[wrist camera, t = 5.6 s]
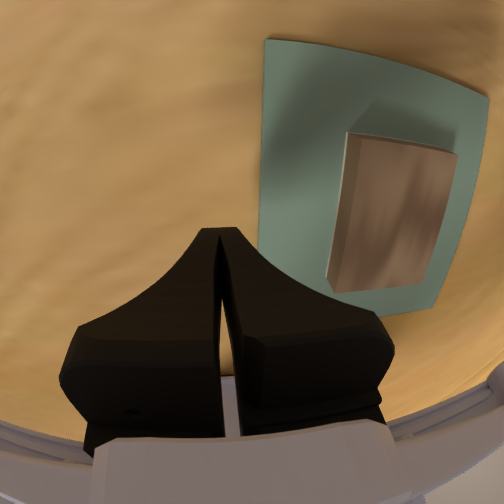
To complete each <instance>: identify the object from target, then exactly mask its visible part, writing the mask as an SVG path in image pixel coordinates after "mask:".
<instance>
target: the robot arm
mask: <svg viewBox="0 0 504 504" xmlns="http://www.w3.org/2000/svg"><path fill="white" fill-rule="evenodd" d="M222 301H223V306H224V312H225V317H226V322H227V328H228V333H229V338H230V343H231V349H232V356H233V367H234V376H226V377H221V372H220V357H219V345H220V325H221V306H222ZM394 355H395V346H394V344H393V342H392V340H391V338H390V336H389V334H388V333H387V331H386V329H385V327H384V325H383V324H382V322H381V321H380V319H379V318H378V316H377V315H376V314H375V312H374V311H371V310H367V309H364V308H360V307H357V306H354V305H350V304H347V303H344V302H341V301H339V300H336V299H334V298H331V297H329V296H326V295H324V294H321V293H319V292H317V291H315V290H313V289H311V288H309V287H307V286H305V285H303V284H301V283H300V282H298V281H296V280H294V279H293V278H291V277H290V276H288V275H287V274H285V273H284V272H282V271H281V270H279V269H278V268H277V267H275V266H274V265H273V264H271V263H270V262H269V261H268V260H267V259H266V258H264V257H263V256H262V255H261V254H260V253H259V252H258V251H257V250H256V249H255V248H254V247H253V246H252V245H251V243H250V242H249V241H248V240H247V239H246V238H245V237H244V235H243V234H242V233H241V232H240V230H239V229H238V228H237V227H221V228H202V229H201V230H200V231H199V232H198V234H197V236H196V237H195V239H194V240H193V242H192V243H191V245H190V246H189V247H188V249H187V250H186V251H185V252H184V254H183V255H182V256H181V258H180V259H179V260H178V261H177V262H176V263H175V264H174V265H173V267H172V268H171V269H170V270H169V271H168V272H167V273H166V274H165V275H164V276H163V277H161V278H160V279H159V280H158V281H157V282H156V283H154V284H153V285H152V286H150V287H149V288H148V289H146V290H145V291H144V292H142V293H141V294H139V295H138V296H137V297H135V298H134V299H132V300H130V301H129V302H127V303H126V304H124V305H122V306H120V307H119V308H117V309H115V310H113V311H111V312H109V313H107V314H105V315H103V316H101V317H99V318H97V319H94V320H92V321H90V322H88V323H86V324H83V325H81V326H78V328H77V330H76V332H75V334H74V336H73V338H72V341H71V343H70V346H69V349H68V351H67V354H66V357H65V360H64V363H63V366H62V369H61V371H60V375H59V382H60V386H61V388H62V390H63V391H64V393H65V395H66V396H67V398H68V399H69V401H70V402H71V403H72V404H73V406H74V407H75V408H76V409H77V410H78V412H79V413H80V414H81V415H82V416H83V418H84V419H85V420H86V421H87V422H88V423H87V429H86V434H85V440H84V442H80V441H75V440H70V439H65V438H61V437H56V436H52V435H48V434H44V433H41V432H37V431H33V430H30V429H27V428H23V427H20V426H17V425H14V424H11V423H8V422H5V421H2V420H0V496H2V497H3V498H5V499H7V500H9V501H11V502H14V503H15V504H426V501H425V498H424V496H423V495H425V494H427V493H429V492H430V491H432V490H434V489H436V488H438V487H440V486H441V485H443V484H445V483H447V482H449V481H450V480H452V479H454V478H456V477H457V476H459V475H461V474H462V473H464V472H465V471H467V470H468V469H470V468H472V467H473V466H475V465H476V464H478V463H479V462H481V461H482V460H483V459H485V458H486V457H488V456H489V455H490V454H492V453H493V452H495V450H497V449H498V448H500V447H501V446H502V445H504V361H503V362H502V363H500V364H499V365H498V366H497V367H496V368H495V369H494V370H493V371H492V372H491V373H490V375H489V376H488V378H487V380H486V381H484V382H482V383H480V384H479V385H477V386H475V387H473V388H471V389H469V390H466V391H464V392H462V393H460V394H458V395H456V396H454V397H451V398H449V399H447V400H445V401H442V402H440V403H438V404H435V405H433V406H430V407H428V408H425V409H423V410H420V411H417V412H415V413H412V414H409V415H406V416H404V417H401V418H398V419H395V420H392V421H389V422H385V420H384V417H383V415H382V413H381V410H380V408H379V404H380V403H381V402H382V397H381V395H380V393H379V391H378V389H377V387H378V386H379V384H380V382H381V381H382V379H383V377H384V376H385V374H386V372H387V370H388V369H389V367H390V365H391V362H392V360H393V357H394Z"/></svg>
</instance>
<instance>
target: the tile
mask: <svg viewBox="0 0 504 504" xmlns="http://www.w3.org/2000/svg"><path fill="white" fill-rule="evenodd" d="M457 158H458V155H457V154H455V153H452V152H450V151H448V150H445V149H443V148H441V147H437V146H432V145H428V144H423V143H417V142H412V141H406V140H401V139H395V138H388V137H382V136H375V135H367V134H359V133H350V132H346V139H345V149H344V158H343V166H342V174H341V182H340V189H339V197H338V204H337V210H336V217H335V223H334V229H333V235H332V241H331V247H330V253H329V258H328V264H327V269H326V274H325V277H326V278H327V280H328V282H329V284H330V286H331V288H332V290H333V292H334V294H335V293H345V292H355V291H365V290H374V289H383V288H391V287H400V286H408V285H415V284H422V281H423V278H424V276H425V273H426V270H427V268H428V265H429V262H430V259H431V256H432V253H433V250H434V247H435V244H436V241H437V238H438V235H439V232H440V228H441V225H442V221H443V218H444V214H445V211H446V207H447V203H448V199H449V195H450V191H451V187H452V183H453V178H454V173H455V169H456V164H457Z"/></svg>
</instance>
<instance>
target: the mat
mask: <svg viewBox="0 0 504 504" xmlns="http://www.w3.org/2000/svg"><path fill="white" fill-rule="evenodd" d="M488 110H489V98H487V97H485V96H483V95H481V94H479V93H477V92H475V91H473V90H471V89H469V88H466V87H464V86H462V85H460V84H457V83H455V82H452V81H450V80H448V79H445V78H442V77H440V76H437V75H435V74H432V73H429V72H426V71H423V70H421V69H418V68H415V67H412V66H408V65H405V64H402V63H399V62H395V61H392V60H388V59H385V58H381V57H377V56H373V55H369V54H365V53H360V52H356V51H351V50H346V49H341V48H336V47H330V46H324V45H317V44H310V43H303V42H294V41H284V40H272V39H265V40H264V65H263V99H262V132H261V162H260V191H259V220H258V247H257V251H258V252H259V253H260V254H261V255H262V256H263V257H264V258H266V259H267V260H268V261H269V262H270V263H271V264H273V265H274V266H275V267H277V268H278V269H279V270H281V271H282V272H284V273H285V274H287V275H288V276H290V277H291V278H293V279H294V280H296V281H298V282H300V283H301V284H303V285H305V286H307V287H309V288H311V289H313V290H315V291H317V292H319V293H321V294H324V295H326V296H329V297H331V298H334V299H336V300H339V301H341V302H344V303H347V304H350V305H354V306H357V307H360V308H364V309H367V310H371V311H374V312H375V314H376V315H377V316H378V317H384V316H390V315H396V314H401V313H407V312H413V311H418V310H423V309H428V308H433V305H434V303H435V301H436V299H437V297H438V294H439V292H440V290H441V287H442V285H443V283H444V280H445V278H446V275H447V273H448V270H449V268H450V265H451V263H452V260H453V257H454V255H455V252H456V249H457V246H458V243H459V240H460V237H461V234H462V231H463V228H464V225H465V222H466V219H467V215H468V212H469V208H470V205H471V201H472V197H473V193H474V189H475V185H476V181H477V177H478V172H479V167H480V162H481V157H482V152H483V146H484V140H485V134H486V127H487V119H488ZM346 132H350V133H359V134H367V135H375V136H382V137H388V138H395V139H401V140H406V141H412V142H417V143H423V144H428V145H432V146H437V147H441V148H443V149H445V150H448V151H450V152H452V153H455V154H457V155H458V158H457V164H456V169H455V173H454V178H453V183H452V187H451V191H450V195H449V199H448V203H447V207H446V211H445V214H444V218H443V221H442V225H441V228H440V232H439V235H438V238H437V241H436V244H435V247H434V250H433V253H432V256H431V259H430V262H429V265H428V268H427V270H426V273H425V276H424V278H423V281H422V284H415V285H408V286H400V287H391V288H383V289H374V290H365V291H355V292H345V293H335V294H334V292H333V290H332V288H331V286H330V284H329V282H328V280H327V278H326V277H325V274H326V269H327V264H328V258H329V253H330V247H331V241H332V235H333V229H334V223H335V217H336V210H337V204H338V197H339V189H340V182H341V174H342V166H343V158H344V149H345V139H346Z"/></svg>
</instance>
